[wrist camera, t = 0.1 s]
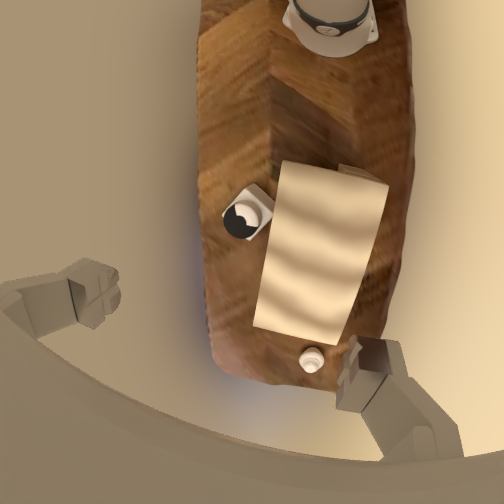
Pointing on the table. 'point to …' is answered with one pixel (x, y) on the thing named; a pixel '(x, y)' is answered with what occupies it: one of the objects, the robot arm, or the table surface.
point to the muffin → (311, 359)
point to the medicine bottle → (248, 213)
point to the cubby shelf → (318, 249)
